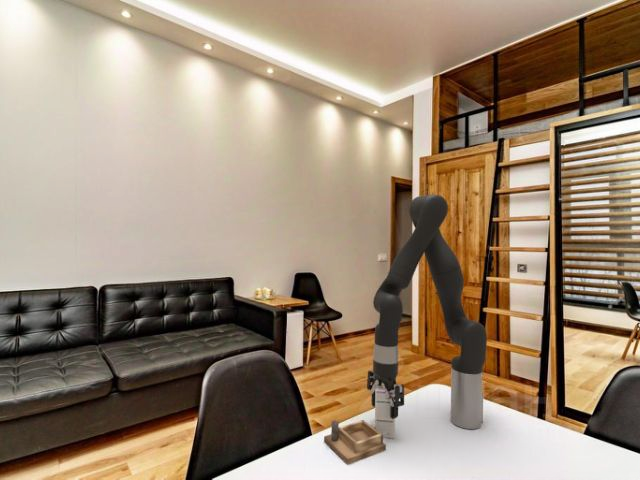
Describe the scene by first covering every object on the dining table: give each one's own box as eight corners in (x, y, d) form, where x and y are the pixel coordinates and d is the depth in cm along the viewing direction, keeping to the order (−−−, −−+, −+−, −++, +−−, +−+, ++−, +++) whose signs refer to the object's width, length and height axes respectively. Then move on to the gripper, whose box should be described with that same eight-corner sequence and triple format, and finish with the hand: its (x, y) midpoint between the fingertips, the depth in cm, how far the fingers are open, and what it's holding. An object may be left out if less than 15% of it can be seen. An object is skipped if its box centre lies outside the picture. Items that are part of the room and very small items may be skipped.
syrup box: (394, 439, 107) (395, 390, 106) (374, 436, 108) (375, 388, 108) (394, 428, 112) (395, 382, 112) (375, 426, 114) (376, 380, 113)
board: (360, 429, 112) (360, 408, 111) (386, 450, 101) (386, 427, 101) (324, 441, 105) (324, 419, 105) (347, 464, 95) (348, 440, 95)
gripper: (411, 364, 105) (410, 419, 106) (380, 349, 118) (378, 399, 118) (392, 368, 101) (390, 425, 102) (361, 353, 114) (359, 404, 114)
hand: (384, 411), depth 110 cm, fingers open, 8 cm apart
